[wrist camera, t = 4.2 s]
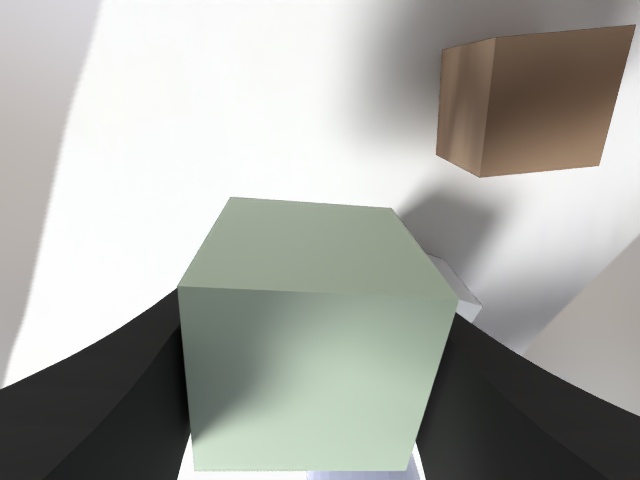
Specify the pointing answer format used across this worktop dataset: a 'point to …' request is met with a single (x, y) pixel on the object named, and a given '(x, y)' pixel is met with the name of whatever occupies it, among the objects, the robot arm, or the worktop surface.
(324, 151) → the worktop surface
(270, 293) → the sage cube
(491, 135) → the walnut cube
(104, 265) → the worktop surface
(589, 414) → the robot arm
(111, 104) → the worktop surface
